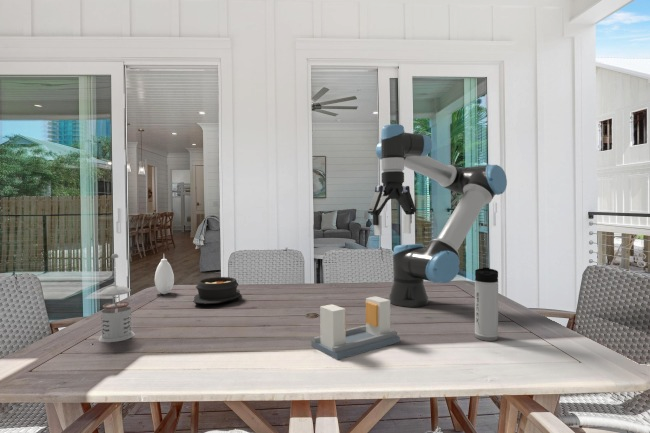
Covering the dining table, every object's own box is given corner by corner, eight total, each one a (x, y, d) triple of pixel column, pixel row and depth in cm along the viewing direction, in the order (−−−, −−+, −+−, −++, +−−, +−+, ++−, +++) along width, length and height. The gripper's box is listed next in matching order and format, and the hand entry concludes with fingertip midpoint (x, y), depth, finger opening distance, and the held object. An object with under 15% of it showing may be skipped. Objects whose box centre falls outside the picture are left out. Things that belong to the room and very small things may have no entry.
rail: (311, 346, 109) (311, 304, 109) (371, 330, 122) (371, 293, 122) (337, 359, 100) (336, 314, 99) (399, 341, 112) (399, 301, 112)
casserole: (227, 309, 149) (226, 287, 149) (181, 307, 152) (180, 285, 152) (249, 294, 174) (249, 275, 174) (209, 293, 177) (209, 274, 176)
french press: (97, 344, 112) (94, 256, 112) (99, 332, 123) (96, 252, 122) (135, 338, 117) (133, 254, 116) (134, 327, 127) (132, 250, 126)
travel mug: (496, 334, 117) (497, 267, 117) (498, 342, 111) (499, 271, 110) (474, 332, 119) (474, 266, 119) (475, 340, 113) (475, 270, 112)
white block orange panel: (390, 334, 114) (390, 300, 113) (377, 338, 111) (377, 302, 111) (376, 329, 119) (376, 296, 118) (364, 332, 116) (363, 298, 116)
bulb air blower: (167, 290, 181) (166, 251, 181) (177, 293, 177) (176, 252, 176) (151, 294, 175) (150, 253, 174) (161, 296, 170) (160, 254, 170)
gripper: (410, 173, 144) (410, 231, 145) (356, 170, 130) (357, 235, 130) (426, 172, 138) (426, 232, 138) (372, 169, 124) (372, 236, 124)
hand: (392, 234), depth 134 cm, fingers open, 13 cm apart
